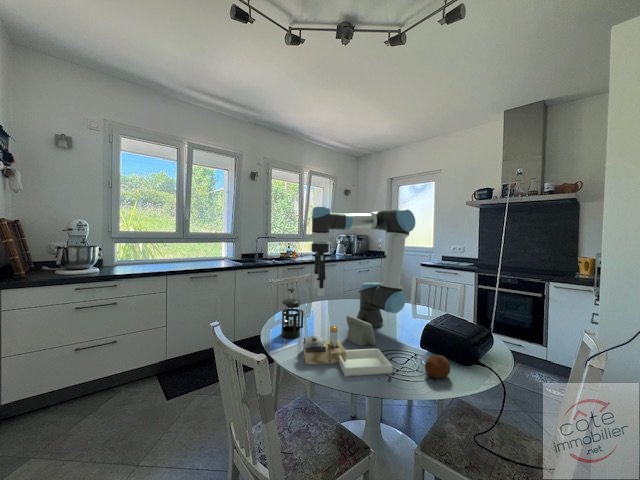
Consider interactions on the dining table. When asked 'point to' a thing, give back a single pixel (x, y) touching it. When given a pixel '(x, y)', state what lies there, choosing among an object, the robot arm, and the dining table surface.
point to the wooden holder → (321, 351)
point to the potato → (437, 366)
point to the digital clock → (360, 332)
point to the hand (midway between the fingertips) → (318, 291)
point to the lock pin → (333, 337)
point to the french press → (290, 326)
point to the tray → (365, 363)
